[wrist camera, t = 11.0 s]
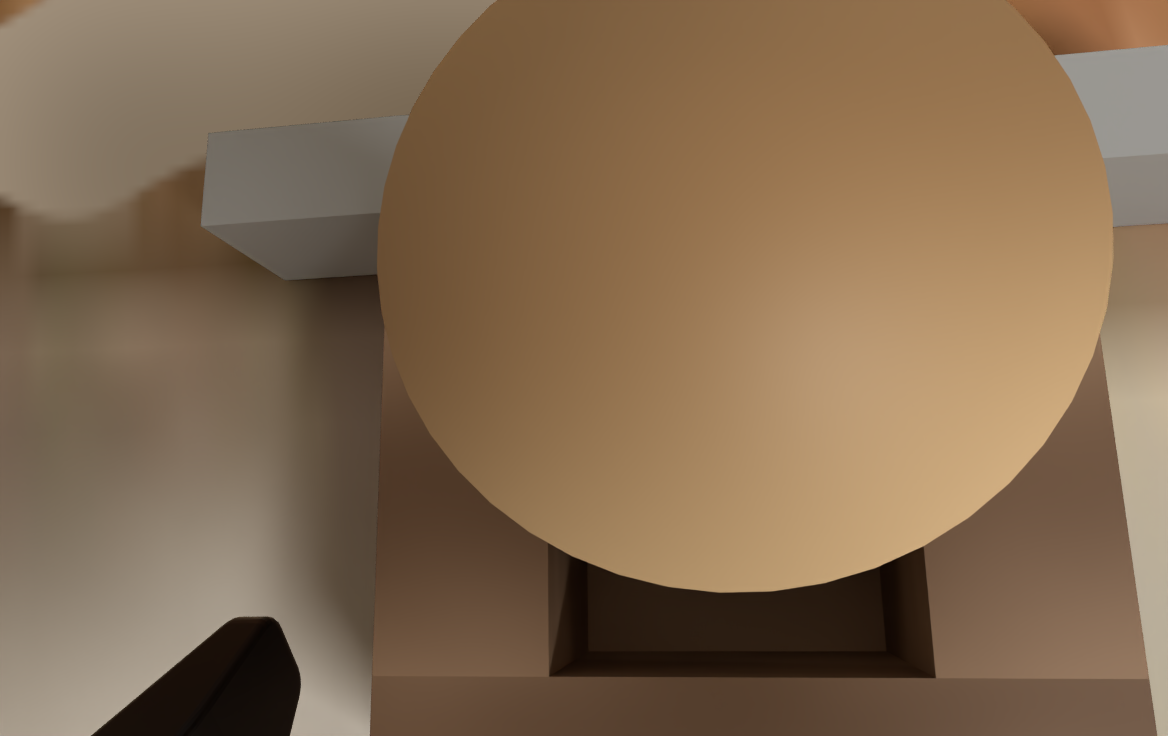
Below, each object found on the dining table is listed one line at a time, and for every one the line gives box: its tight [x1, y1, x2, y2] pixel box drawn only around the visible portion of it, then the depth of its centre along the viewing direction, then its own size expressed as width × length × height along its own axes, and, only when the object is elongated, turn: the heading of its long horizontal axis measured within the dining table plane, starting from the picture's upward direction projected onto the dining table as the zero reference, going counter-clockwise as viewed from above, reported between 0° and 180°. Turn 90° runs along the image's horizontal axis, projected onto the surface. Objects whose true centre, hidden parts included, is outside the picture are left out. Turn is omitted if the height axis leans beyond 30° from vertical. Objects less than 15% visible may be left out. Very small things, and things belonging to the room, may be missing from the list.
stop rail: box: [201, 45, 1168, 280], centre depth 18 cm, size 2×20×4 cm, turn 91°
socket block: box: [370, 324, 1157, 736], centre depth 16 cm, size 11×11×5 cm
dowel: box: [377, 0, 1113, 593], centre depth 11 cm, size 4×4×13 cm
